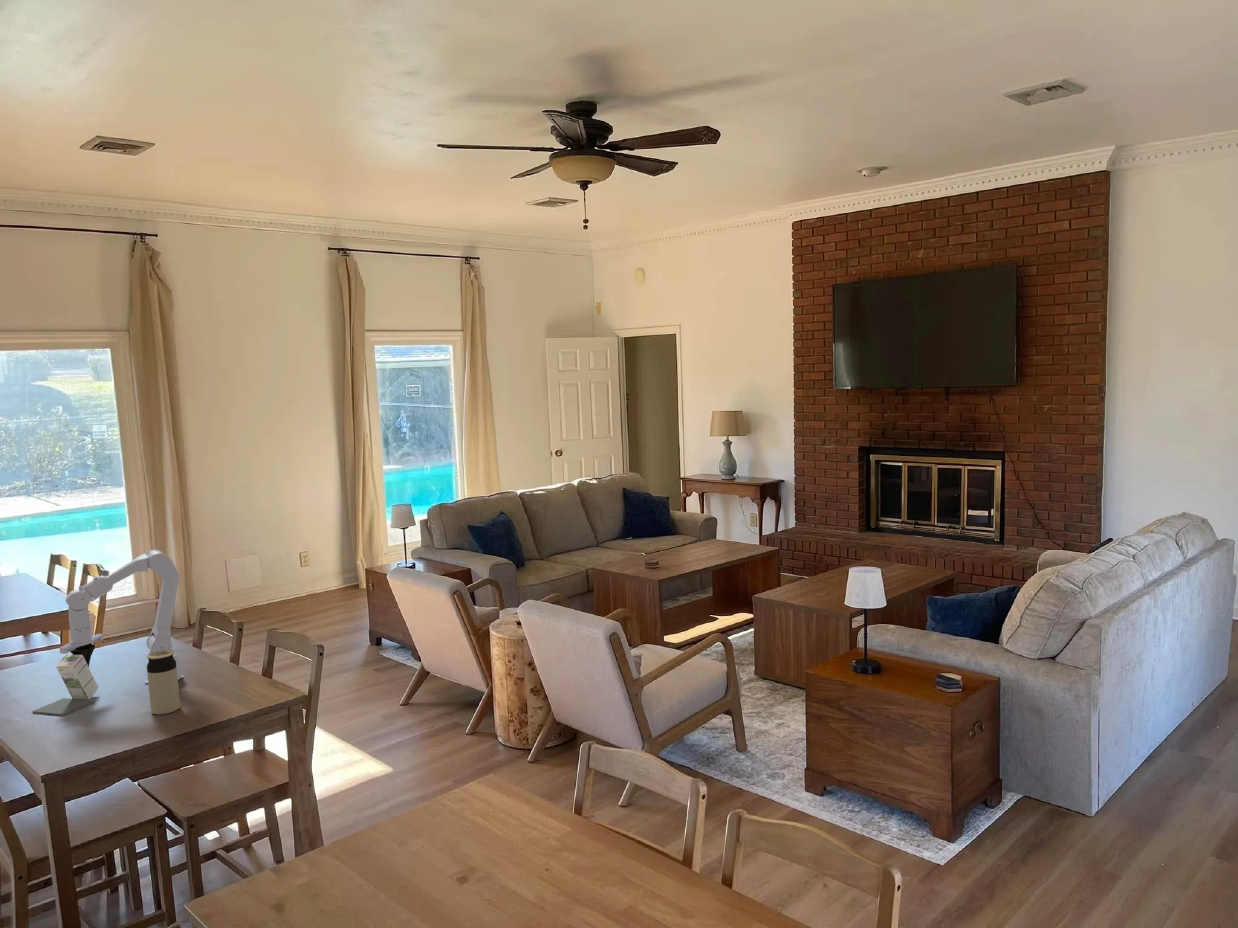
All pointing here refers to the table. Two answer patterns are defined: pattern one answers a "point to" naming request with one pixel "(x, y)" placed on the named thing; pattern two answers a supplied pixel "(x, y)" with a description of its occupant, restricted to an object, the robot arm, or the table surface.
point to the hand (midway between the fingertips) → (84, 668)
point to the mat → (63, 706)
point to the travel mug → (163, 682)
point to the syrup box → (77, 677)
